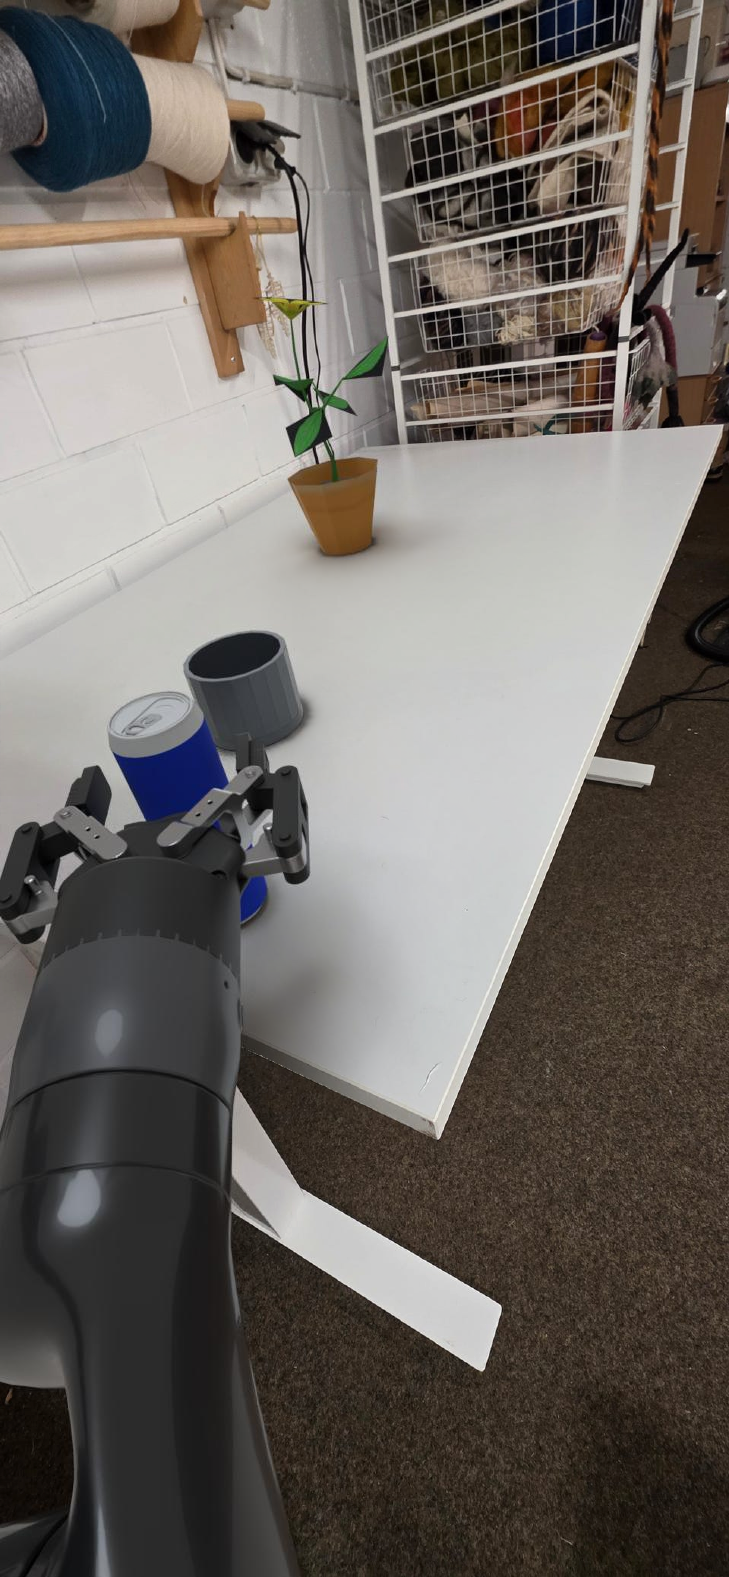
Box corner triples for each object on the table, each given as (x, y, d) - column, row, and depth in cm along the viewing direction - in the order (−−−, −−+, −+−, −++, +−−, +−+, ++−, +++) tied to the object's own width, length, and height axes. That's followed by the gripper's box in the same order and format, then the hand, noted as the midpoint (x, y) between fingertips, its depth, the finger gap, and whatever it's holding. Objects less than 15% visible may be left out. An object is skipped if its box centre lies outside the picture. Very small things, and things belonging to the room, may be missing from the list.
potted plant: (372, 574, 86) (325, 284, 67) (260, 566, 95) (191, 309, 77) (435, 524, 97) (410, 263, 78) (329, 521, 106) (284, 287, 88)
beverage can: (227, 866, 47) (150, 682, 38) (284, 887, 45) (217, 695, 36) (177, 919, 44) (81, 731, 35) (236, 944, 42) (149, 749, 33)
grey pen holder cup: (210, 761, 58) (184, 692, 54) (205, 711, 65) (182, 646, 61) (310, 734, 59) (292, 663, 55) (295, 687, 66) (278, 621, 62)
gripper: (302, 900, 23) (280, 676, 36) (-110, 992, 23) (16, 734, 36) (342, 1022, 28) (310, 786, 40) (1, 1099, 27) (77, 837, 40)
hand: (173, 762), depth 38 cm, fingers open, 8 cm apart
